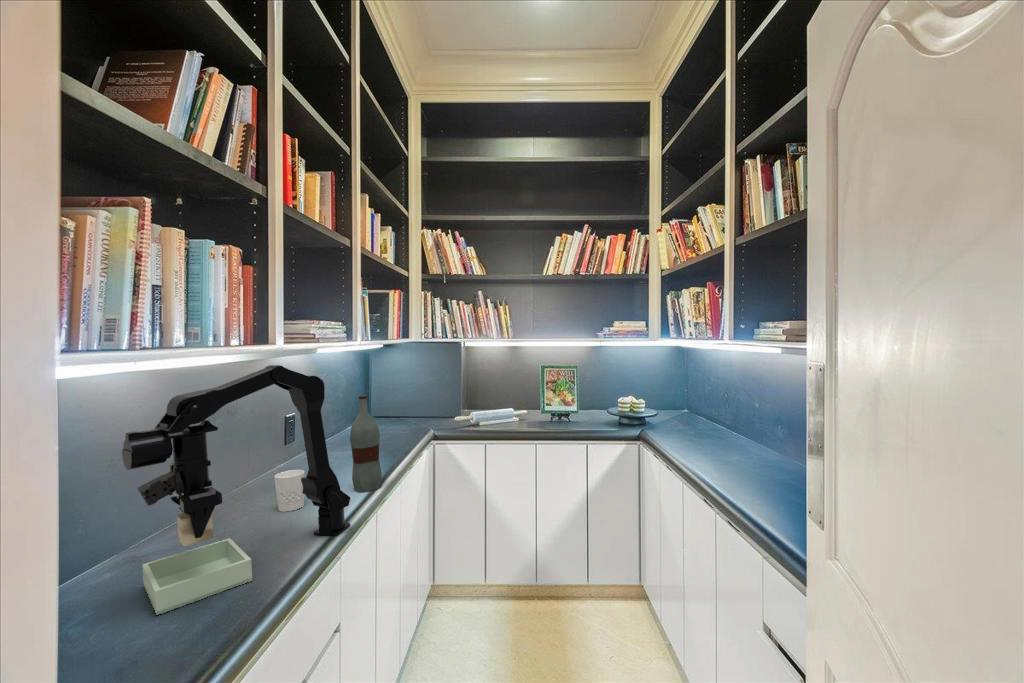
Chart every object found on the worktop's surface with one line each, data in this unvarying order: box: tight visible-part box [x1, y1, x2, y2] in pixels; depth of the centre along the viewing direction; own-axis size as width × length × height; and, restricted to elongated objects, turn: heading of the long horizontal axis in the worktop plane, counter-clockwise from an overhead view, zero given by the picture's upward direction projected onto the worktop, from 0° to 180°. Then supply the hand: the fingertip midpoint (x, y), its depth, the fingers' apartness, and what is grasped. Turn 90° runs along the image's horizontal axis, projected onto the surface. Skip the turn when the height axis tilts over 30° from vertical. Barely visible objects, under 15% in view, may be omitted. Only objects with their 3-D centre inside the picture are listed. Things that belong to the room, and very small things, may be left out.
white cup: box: [274, 469, 305, 513], centre depth 137 cm, size 8×8×10 cm
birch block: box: [176, 512, 214, 547], centre depth 95 cm, size 5×5×5 cm
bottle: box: [349, 394, 383, 493], centre depth 152 cm, size 9×9×30 cm
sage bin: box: [142, 537, 253, 616], centre depth 95 cm, size 16×16×4 cm
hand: (195, 533), depth 95 cm, fingers closed on birch block, 5 cm apart
